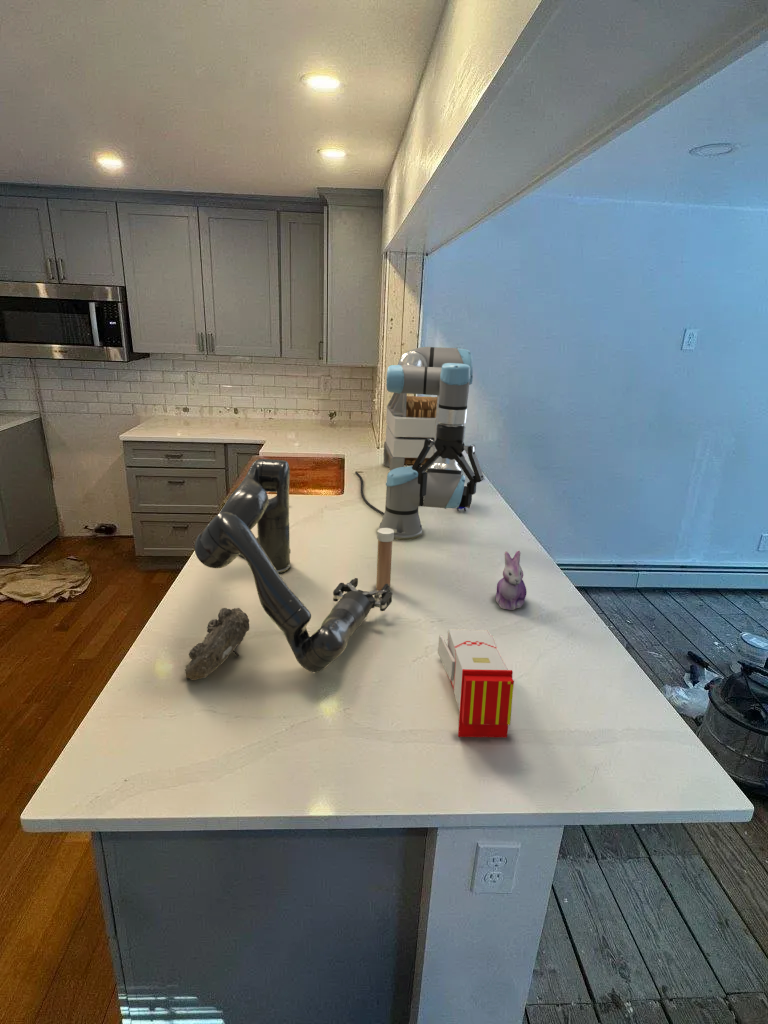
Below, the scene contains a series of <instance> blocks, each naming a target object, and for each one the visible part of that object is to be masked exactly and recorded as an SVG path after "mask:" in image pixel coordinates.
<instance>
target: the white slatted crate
mask: <svg viewBox="0 0 768 1024" xmlns="http://www.w3.org/2000/svg"><path fill="white" fill-rule="evenodd" d="M436 407H437V396H415V395H414V396H413V395H412V396H411V395H407V394H406V393H400V394H398V393H393V394H392V395H391V398H390V400H389V402H388V404H387V405H386V413H385V414H386V415H385V423H386V428H385V438H384V442H383V466H384V467H388V468H389V472H390V471H391V470H393V469H395V468H399V467H405V466H406V467H408V466H411V467H412V466H413V465H414V463H415V461H416V459H417V458H418V456H419V454H420V452H421V451H422V449H423V447H424V442H425V440H426V439H428V438H432V440H434V435H435V421H436ZM463 425H464V426H465V424H463ZM433 449H434V445H433V447H431V448H430V450H429V452H428V453H427V455H426V457H425V459H424V460H423V462H422V464H421V466H422V465H423V464H424V463H425V462H426V461H427V460H428V459H430V458H431V457H432V455H433ZM421 466H420V467H421ZM458 466H459V468H460V469H461V470H462V468H461V467H460V465H459V464H458Z"/></svg>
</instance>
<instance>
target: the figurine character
mask: <svg viewBox="0 0 768 1024" xmlns="http://www.w3.org/2000/svg"><path fill="white" fill-rule="evenodd" d="M466 490H467V485H464V490H463V494H462V498H461V502H460V505H459V506H458V507H457V508H456V511H457V512H460V510H463V511H464V513H466V512H467V509H470V508H471V505H472V503H471V504H470V505H469V506H468V507H467V506H465V500H466ZM466 508H467V509H466Z"/></svg>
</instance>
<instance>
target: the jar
mask: <svg viewBox="0 0 768 1024" xmlns="http://www.w3.org/2000/svg"><path fill="white" fill-rule="evenodd" d="M393 541H394V540H393ZM393 541H391V542H382V541H379V540H378V539H377V554H376V555H377V556H376V576H375V577H376V579H375V580H376V581H375V590H377V591H380V590H382V588H383V587H384V585H385V584H389V586H390V587H391V579H392V578H391V577H392V561H393V560H392V559H393Z"/></svg>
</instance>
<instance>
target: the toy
mask: <svg viewBox="0 0 768 1024" xmlns="http://www.w3.org/2000/svg"><path fill="white" fill-rule="evenodd" d="M446 640H447V643H446V641H445V639H444V636H443V635H442V634H439V637H438V646H437V656H438V657H439V659H440V661H441V663H442V666H443V668H444V670H445V672H446V674H447V677H448V679H449V681H450V684H451V687H452V690H453V693H454V697H455V701H456V705H457V708H458V711H459V714H458V715H459V716H458V730H457V731H458V732H457V737H458V738H508V731H509V726H510V725H511V717H512V707H513V697H514V696H513V695H514V684H515V680H514V679H513V673H514V671H513V670H512V669H508V667H507V665H506V662H505V661H504V659H503V658H502V655H501V653H500V651H499V649H498V647H497V643H496V639H495V637H494V635H493V634H491V632H490V631H489V629H467V628H466V629H465V628H463V629H461V628H460V629H459V628H448V630H447V639H446Z"/></svg>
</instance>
